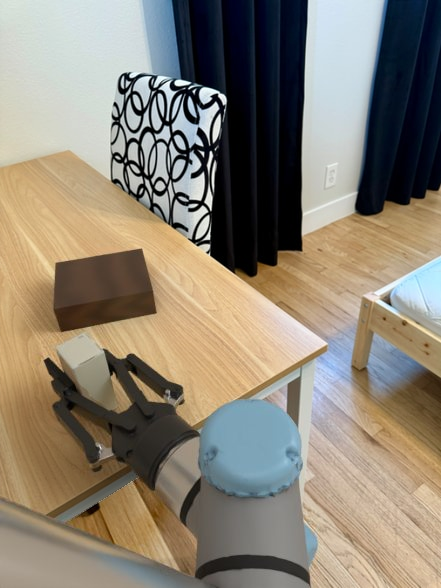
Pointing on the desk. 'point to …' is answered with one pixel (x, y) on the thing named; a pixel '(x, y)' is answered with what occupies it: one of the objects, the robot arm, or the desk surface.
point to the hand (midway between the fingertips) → (66, 355)
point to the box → (88, 369)
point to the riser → (102, 290)
